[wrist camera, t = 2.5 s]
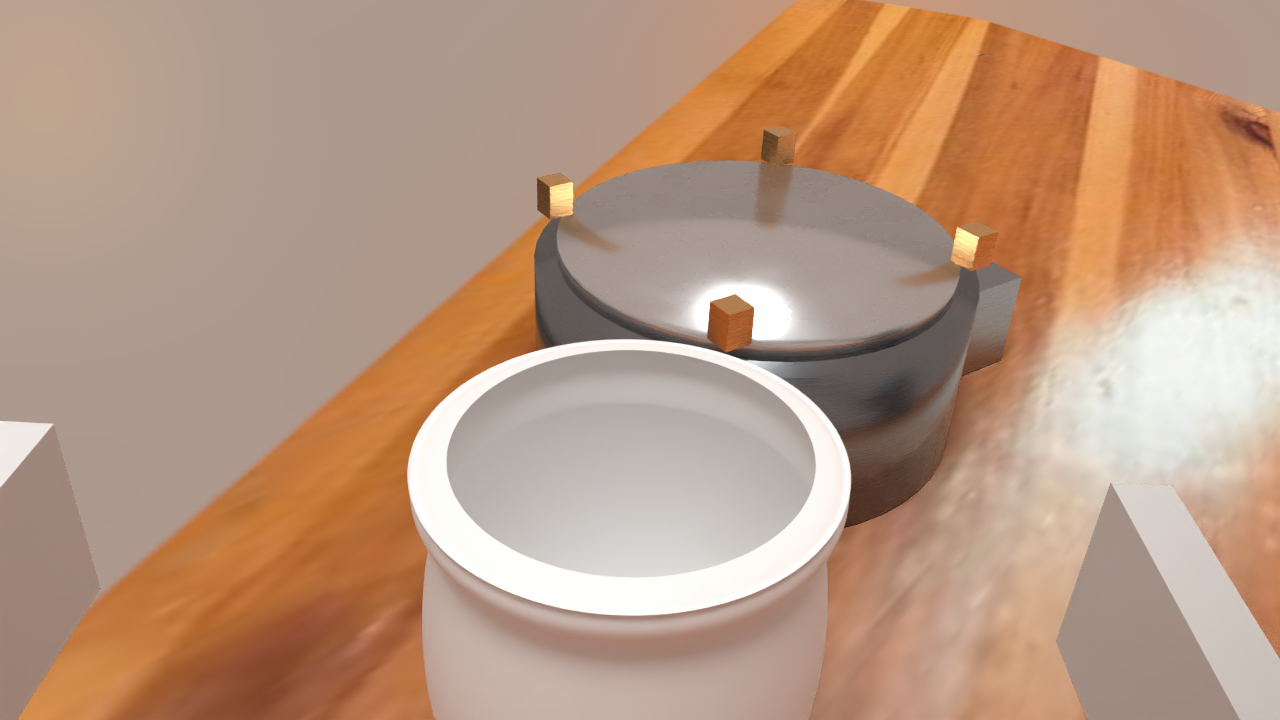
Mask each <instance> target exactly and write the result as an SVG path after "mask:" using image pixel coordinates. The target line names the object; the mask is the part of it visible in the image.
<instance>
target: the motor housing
mask: <svg viewBox="0 0 1280 720" xmlns="http://www.w3.org/2000/svg"><path fill="white" fill-rule="evenodd" d="M796 135H797V133H796V132H794V131H792V130H790V129H787V128H785V127H783V126H778V127H773V128H769V129H764V132H763V142H762V152H761V159H762V160H764V161H766V162H768V163H766V162H754V161H699V162H685V163H677V164H669V165H662V166H657V167H652V168H646V169H642V170H638V171H635V172H631V173H627V174H624V175H621V176H618V177H616V178H613V179H610V180H608V181H606V182H603V183H601V184H599V185H597V186H595V187H593V188H592V189H590V190H588V191H587V192H585V193H583V194H582V195H581V196H580V197H578V198H577V199H576V200H575V201H574V202H573V182H572V181H571V180H569V179H568V178H566V177H565V176H564V175H562V174H561V173H557V174H552V175H548V176H543V177H538V178H537V209H538V211H540V212H541V213H542V214H544V215H545V216H546V217H548V218H549V219H552V220H551V221H550V222H549V223H548V224H547V226H546V227H545V228H544V229H543V231H542V233H541V235H540V237H539V239H538V241H537V244H536V249H535V255H534V260H535V324H536V351H539V350H542V349H546V348H551V347H555V346H560V345H566V344H572V343H578V342H587V341H597V340H615V339H636V340H654V341H665V342H673V343H680V344H686V345H691V346H696V347H701V348H705V349H709V350H713V351H717V352H720V353H724V354H727V355H730V356H733V357H736V358H739V359H741V360H744V361H747V362H749V363H751V364H754V365H756V366H758V367H760V368H763V369H765V370H767V371H769V372H771V373H772V374H774V375H776V376H778V377H780V378H781V379H783V380H785V381H786V382H788V383H789V384H791V385H792V386H794V387H795V388H797V389H798V390H799V391H801V392H802V393H803V394H804V395H806V396H807V397H808V398H809V399H810V400H811V401H812V402H814V403H815V404H816V405H817V406H818V407H819V408H820V410H821V411H822V412H823V413H824V414H825V415H826V416H827V418H828V419H829V420H830V421H831V423H832V424H833V426H834V427H835V429H836V430H837V432H838V434H839V436H840V438H841V440H842V442H843V444H844V446H845V449H846V452H847V455H848V459H849V463H850V470H851V489H850V499H849V508H848V514H847V518H846V522H845V526H844V527H847V526H851V525H855V524H859V523H861V522H864V521H866V520H869V519H872V518H874V517H877V516H879V515H882V514H884V513H886V512H887V511H889V510H891V509H893V508H895V507H897V506H898V505H900V504H902V503H903V502H905V501H906V500H907V499H909V498H910V497H911V496H913V495H914V494H915V493H916V492H918V491H919V490H920V489H921V488H922V487H923V486H924V484H925V483H926V482H927V481H928V480H929V479H930V478H931V477H932V475H933V473H934V472H935V470H936V468H937V467H938V465H939V463H940V461H941V458H942V455H943V452H944V448H945V445H946V440H947V436H948V432H949V427H950V423H951V419H952V414H953V410H954V406H955V401H956V397H957V393H958V388H959V384H960V380H961V376H962V375H965V374H967V373H970V372H972V371H975V370H978V369H980V368H983V367H985V366H988V365H990V364H993V363H995V362H998V361H1000V360H1001V357H1002V353H1003V349H1004V345H1005V341H1006V337H1007V333H1008V329H1009V325H1010V321H1011V317H1012V313H1013V309H1014V305H1015V301H1016V297H1017V293H1018V289H1019V285H1020V281H1021V277H1020V276H1018V275H1016V274H1014V273H1012V272H1010V271H1008V270H1007V269H1005V268H1003V267H1001V266H999V265H997V264H995V263H993V262H991V259H992V255H993V251H994V247H995V242H996V238H997V234H998V232H997V231H995V230H993V229H991V228H989V227H987V226H985V225H983V224H981V223H979V222H977V221H976V222H973V223H969V224H966V225H963V226H959V227H957V232H956V237H955V241H953V239H952V238H951V236H950V235H949V234H948V233H947V232H946V230H945V229H944V228H943V227H942V226H941V225H940V224H939V223H938V222H937V221H935V220H934V219H933V218H932V217H931V216H930V215H928V214H927V213H925V212H924V211H922V210H921V209H919V208H918V207H917V206H915V205H913V204H911V203H909V202H908V201H906V200H904V199H902V198H900V197H898V196H896V195H894V194H892V193H889V192H887V191H885V190H883V189H880V188H877V187H875V186H872V185H869V184H867V183H864V182H861V181H858V180H854V179H851V178H848V177H845V176H841V175H837V174H833V173H829V172H824V171H820V170H815V169H810V168H804V167H799V166H792V165H784V164H788V163H793V160H794V152H795V143H796Z"/></svg>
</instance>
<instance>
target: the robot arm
mask: <svg viewBox="0 0 1280 720" xmlns="http://www.w3.org/2000/svg"><path fill="white" fill-rule="evenodd" d="M100 589H101V588H100V585H99V581H98V578H97V574H96V571H95V567H94V564H93V561H92V557H91V553H90V550H89V547H88V543H87V539H86V536H85V532H84V529H83V526H82V522H81V518H80V515H79V512H78V508H77V504H76V501H75V497H74V494H73V490H72V487H71V483H70V480H69V476H68V473H67V469H66V466H65V462H64V459H63V455H62V452H61V448H60V445H59V441H58V438H57V434H56V431H55V427H54V424H43V423H25V422H7V421H0V720H18V718H19V716H20V715H21V713H22V712H23V710H24V709H25V707H26V705H27V704H28V702H29V701H30V699H31V698H32V696H33V694H34V693H35V691H36V690H37V688H38V686H39V685H40V683H41V682H42V680H43V679H44V677H45V675H46V674H47V672H48V671H49V669H50V668H51V666H52V664H53V663H54V661H55V660H56V658H57V657H58V655H59V653H60V652H61V650H62V649H63V647H64V646H65V644H66V642H67V641H68V639H69V638H70V636H71V634H72V633H73V631H74V630H75V628H76V627H77V625H78V623H79V622H80V620H81V619H82V617H83V616H84V614H85V612H86V611H87V609H88V608H89V606H90V605H91V603H92V601H93V600H94V598H95V597H96V595H97V594H98V592H99V590H100ZM1056 642H1057V645H1058V648H1059V650H1060V653H1061V655H1062V658H1063V660H1064V663H1065V665H1066V668H1067V670H1068V673H1069V675H1070V678H1071V680H1072V683H1073V685H1074V688H1075V690H1076V693H1077V695H1078V698H1079V700H1080V703H1081V705H1082V708H1083V711H1084V713H1085V716H1086V718H1087V720H1280V659H1279V657H1278V656H1277V654H1276V652H1275V651H1274V649H1273V647H1272V646H1271V644H1270V643H1269V641H1268V639H1267V638H1266V636H1265V635H1264V633H1263V631H1262V630H1261V628H1260V626H1259V625H1258V623H1257V622H1256V620H1255V618H1254V617H1253V615H1252V613H1251V612H1250V610H1249V609H1248V607H1247V605H1246V604H1245V602H1244V601H1243V599H1242V597H1241V596H1240V594H1239V592H1238V591H1237V589H1236V588H1235V586H1234V584H1233V583H1232V581H1231V580H1230V578H1229V576H1228V575H1227V573H1226V571H1225V570H1224V568H1223V567H1222V565H1221V563H1220V562H1219V560H1218V559H1217V557H1216V555H1215V554H1214V552H1213V550H1212V549H1211V547H1210V546H1209V544H1208V542H1207V541H1206V539H1205V538H1204V536H1203V534H1202V533H1201V531H1200V529H1199V528H1198V526H1197V525H1196V523H1195V521H1194V520H1193V518H1192V516H1191V515H1190V513H1189V512H1188V510H1187V508H1186V507H1185V505H1184V504H1183V502H1182V500H1181V499H1180V497H1179V495H1178V494H1177V492H1176V491H1175V489H1174V487H1173V486H1170V485H1151V484H1133V483H1115V482H1111V483H1110V486H1109V489H1108V492H1107V495H1106V498H1105V501H1104V503H1103V506H1102V509H1101V512H1100V515H1099V518H1098V521H1097V524H1096V527H1095V530H1094V532H1093V535H1092V538H1091V541H1090V544H1089V547H1088V550H1087V553H1086V556H1085V558H1084V561H1083V564H1082V567H1081V570H1080V573H1079V576H1078V579H1077V582H1076V584H1075V587H1074V590H1073V593H1072V596H1071V599H1070V602H1069V605H1068V608H1067V610H1066V613H1065V616H1064V619H1063V622H1062V625H1061V628H1060V631H1059V634H1058V636H1057V639H1056Z"/></svg>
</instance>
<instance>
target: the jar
mask: <svg viewBox="0 0 1280 720" xmlns="http://www.w3.org/2000/svg"><path fill="white" fill-rule="evenodd" d="M408 488H409V493H410V503H411V509H412V514H413V518H414V521H415V525H416V528H417V530H418V533H419V535H420V537H421V539H422V541H423V543H424V545H425V547H426V548H427V550H428V554H427V561H426V568H425V577H424V589H423V607H422V639H423V656H424V666H425V674H426V681H427V687H428V693H429V698H430V703H431V707H432V711H433V715H434V719H435V720H809V717H810V714H811V711H812V707H813V704H814V700H815V696H816V692H817V688H818V684H819V679H820V674H821V669H822V663H823V656H824V649H825V640H826V628H827V608H828V581H827V563H826V561H827V559H828V558H829V556H830V555H831V553H832V552H833V550H834V548H835V546H836V544H837V542H838V540H839V538H840V536H841V534H842V531H843V529H844V526H845V522H846V518H847V514H848V508H849V499H850V489H851V470H850V463H849V459H848V455H847V452H846V449H845V446H844V444H843V442H842V440H841V438H840V436H839V434H838V432H837V430H836V429H835V427H834V426H833V424H832V423H831V421H830V420H829V419H828V418H827V416H826V415H825V414H824V413H823V412H822V411H821V410H820V408H819V407H818V406H817V405H816V404H815V403H814V402H812V401H811V400H810V399H809V398H808V397H807V396H806V395H804V394H803V393H802V392H801V391H799V390H798V389H797V388H795V387H794V386H792V385H791V384H789V383H788V382H786V381H785V380H783V379H781V378H780V377H778V376H776V375H774V374H772V373H771V372H769V371H767V370H765V369H763V368H760V367H758V366H756V365H754V364H751V363H749V362H747V361H744V360H741V359H739V358H736V357H733V356H730V355H727V354H724V353H720V352H717V351H713V350H709V349H705V348H701V347H696V346H691V345H686V344H680V343H673V342H665V341H654V340H636V339H615V340H597V341H587V342H578V343H572V344H566V345H560V346H555V347H551V348H546V349H542V350H539V351H535V352H531V353H528V354H525V355H522V356H519V357H516V358H513V359H511V360H508V361H506V362H503V363H501V364H499V365H496V366H494V367H492V368H490V369H488V370H486V371H484V372H482V373H480V374H479V375H477V376H475V377H474V378H472V379H470V380H469V381H467V382H466V383H464V384H463V385H461V386H460V387H459V388H457V389H456V390H455V391H453V392H452V393H451V394H450V395H449V396H447V397H446V398H445V399H444V400H443V401H442V402H441V403H440V404H439V405H438V406H437V407H436V408H435V409H434V411H433V412H432V413H431V414H430V415H429V417H428V418H427V419H426V421H425V422H424V424H423V425H422V427H421V429H420V431H419V432H418V434H417V436H416V439H415V441H414V443H413V446H412V449H411V453H410V457H409V462H408Z"/></svg>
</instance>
